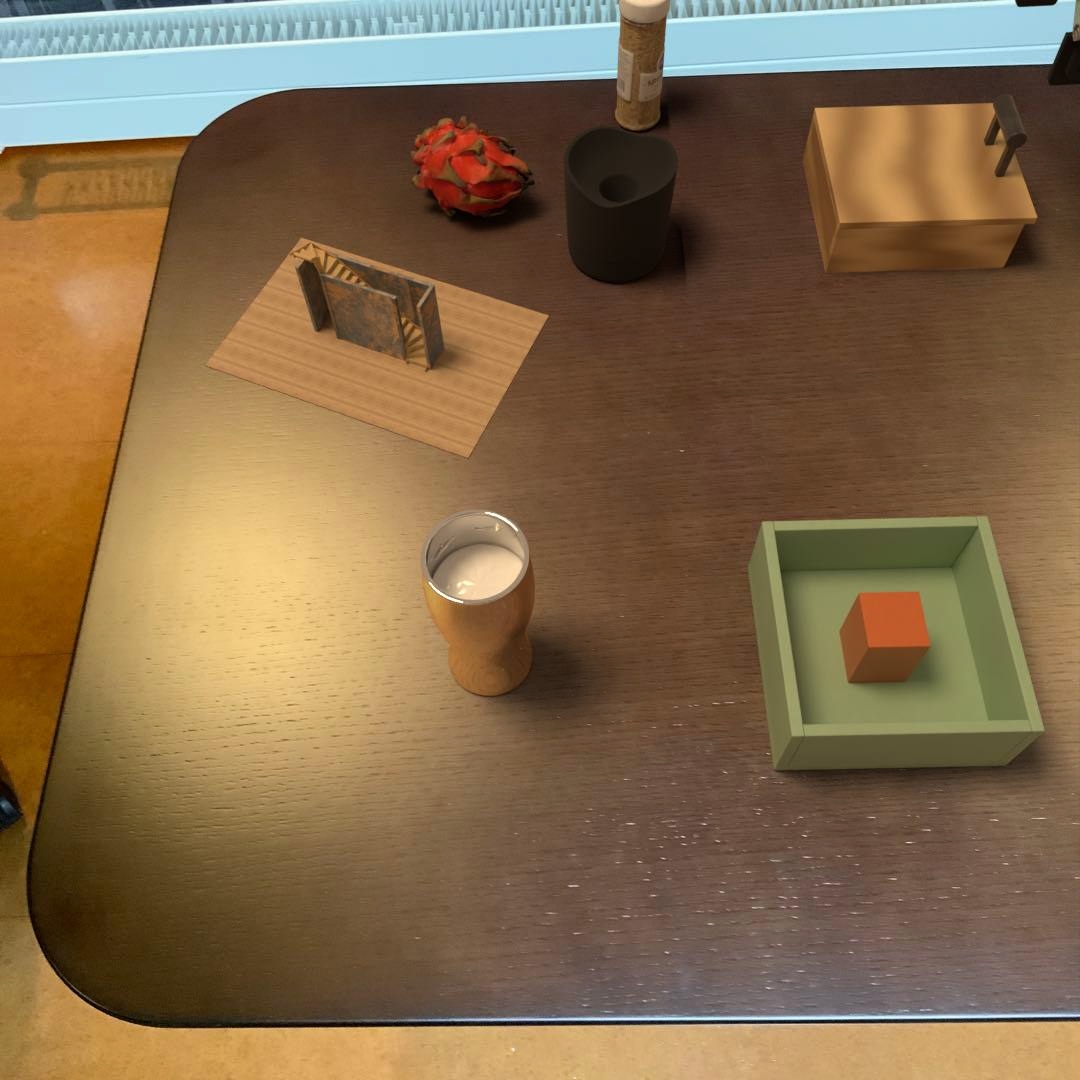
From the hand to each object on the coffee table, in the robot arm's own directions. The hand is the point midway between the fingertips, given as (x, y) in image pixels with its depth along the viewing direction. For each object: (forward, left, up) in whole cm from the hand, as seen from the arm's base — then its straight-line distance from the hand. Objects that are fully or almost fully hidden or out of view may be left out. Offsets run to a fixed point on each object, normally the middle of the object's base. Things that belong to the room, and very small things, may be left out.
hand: (1050, 42), depth 81 cm
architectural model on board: (+54, +13, -18) cm, 58 cm away
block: (+17, +44, -17) cm, 50 cm away
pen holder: (+33, +3, -18) cm, 38 cm away
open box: (+17, +44, -18) cm, 50 cm away
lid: (+7, 0, -12) cm, 14 cm away
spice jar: (+30, -15, -18) cm, 38 cm away
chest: (+7, 0, -18) cm, 19 cm away
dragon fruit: (+46, -4, -18) cm, 50 cm away
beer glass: (+44, +43, -18) cm, 64 cm away
